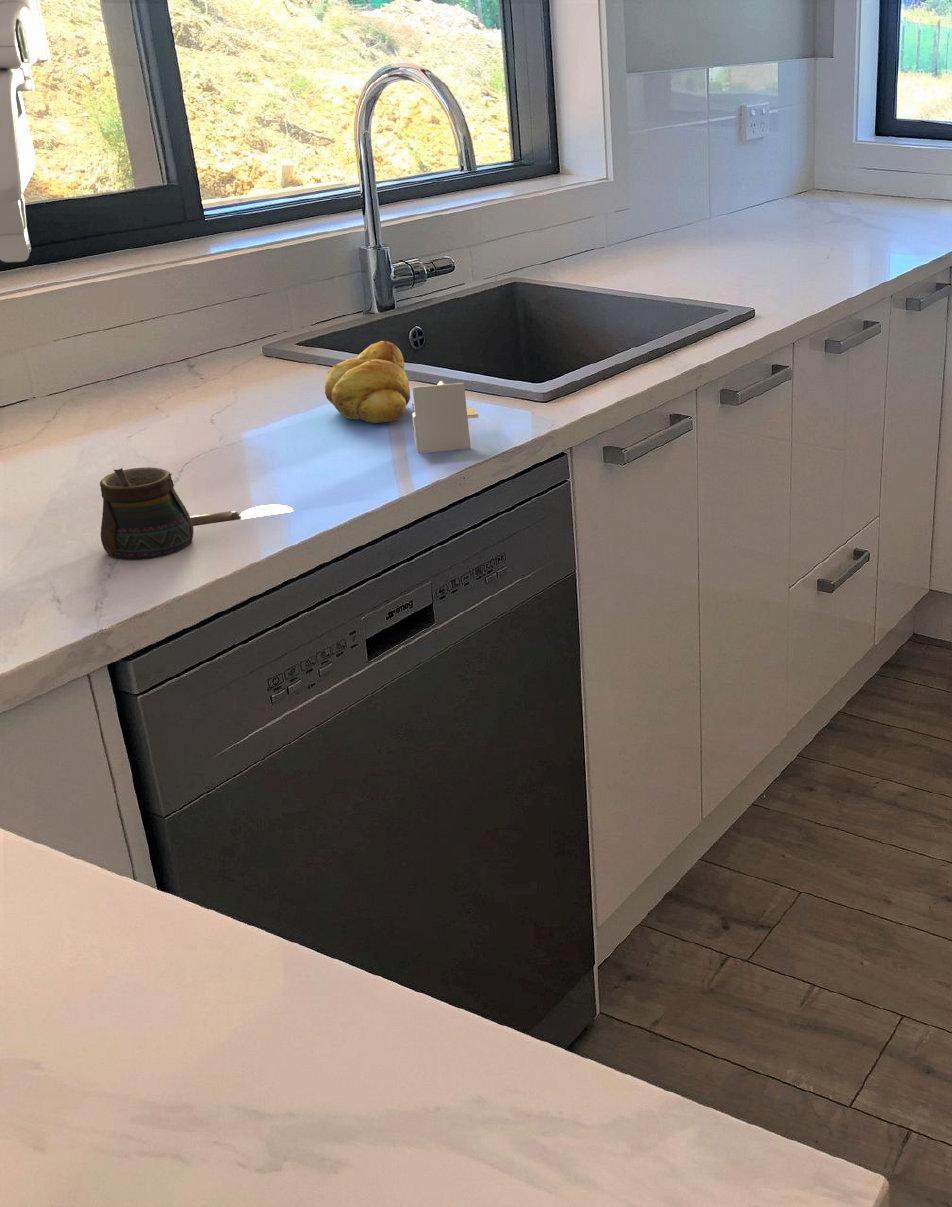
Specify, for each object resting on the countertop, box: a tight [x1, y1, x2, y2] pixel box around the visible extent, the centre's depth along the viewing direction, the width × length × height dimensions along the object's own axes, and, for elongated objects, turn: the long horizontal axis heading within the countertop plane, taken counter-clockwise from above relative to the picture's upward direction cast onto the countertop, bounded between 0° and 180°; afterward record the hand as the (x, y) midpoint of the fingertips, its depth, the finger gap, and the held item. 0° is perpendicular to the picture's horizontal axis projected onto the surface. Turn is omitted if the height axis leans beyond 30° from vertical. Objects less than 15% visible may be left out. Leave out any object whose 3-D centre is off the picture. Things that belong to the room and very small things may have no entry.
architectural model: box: [411, 380, 479, 454], centre depth 146 cm, size 3×7×7 cm, turn 112°
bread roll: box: [324, 340, 411, 424], centre depth 157 cm, size 13×10×8 cm
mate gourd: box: [99, 466, 194, 561], centre depth 113 cm, size 7×8×10 cm
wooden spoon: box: [190, 504, 294, 527], centre depth 122 cm, size 14×5×2 cm, turn 116°
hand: (16, 258), depth 87 cm, fingers closed
